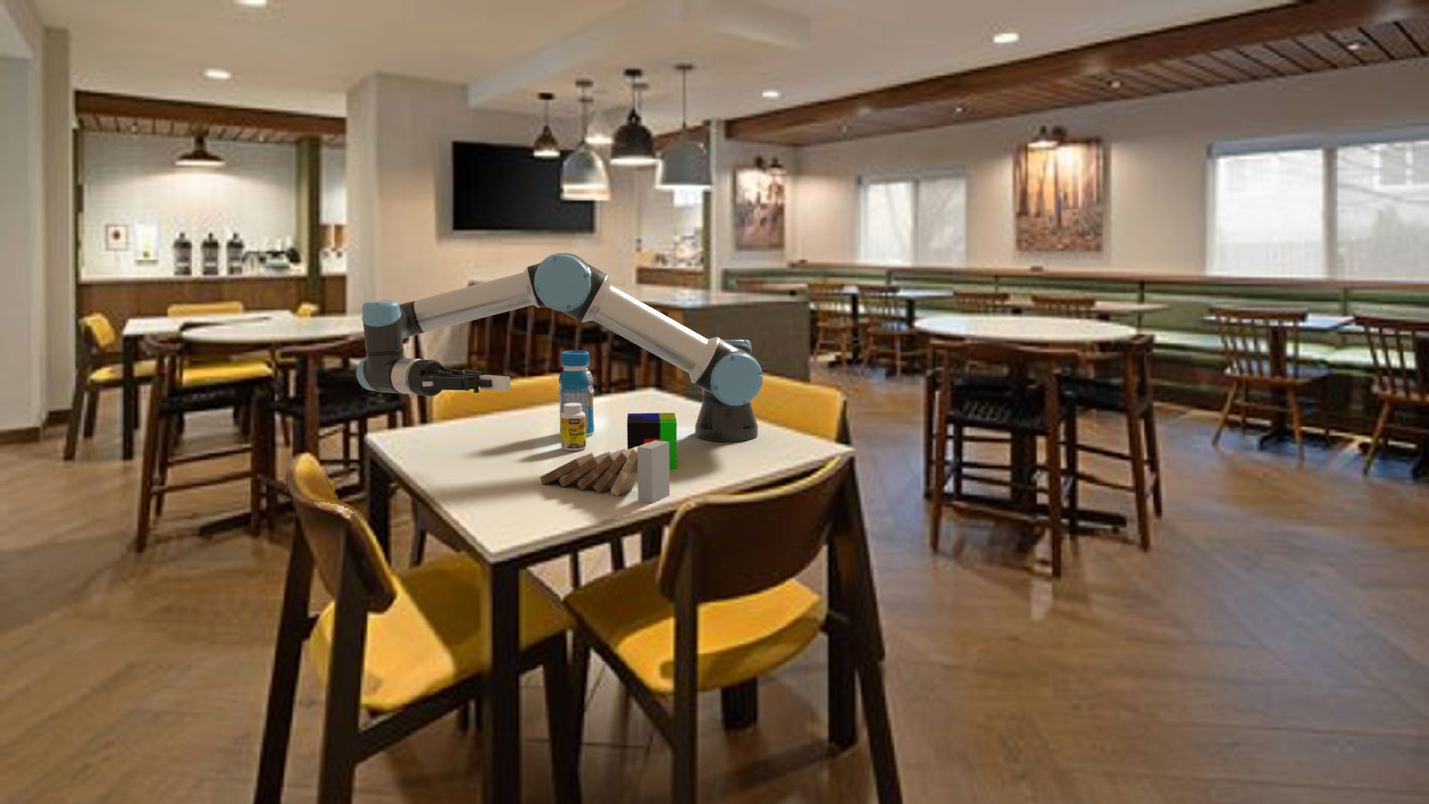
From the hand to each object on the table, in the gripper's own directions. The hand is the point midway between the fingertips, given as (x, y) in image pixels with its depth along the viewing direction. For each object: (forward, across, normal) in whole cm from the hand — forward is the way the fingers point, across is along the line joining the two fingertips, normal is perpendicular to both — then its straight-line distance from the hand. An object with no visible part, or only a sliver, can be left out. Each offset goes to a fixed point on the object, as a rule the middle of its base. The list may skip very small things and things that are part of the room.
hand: (507, 383), depth 172 cm
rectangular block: (+33, 0, -19) cm, 38 cm away
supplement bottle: (-3, -24, -19) cm, 31 cm away
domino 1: (+9, 0, -18) cm, 20 cm away
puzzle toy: (+20, -21, -20) cm, 35 cm away
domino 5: (+26, 0, -19) cm, 32 cm away
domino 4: (+22, 0, -18) cm, 28 cm away
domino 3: (+18, 0, -18) cm, 26 cm away
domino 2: (+14, 0, -18) cm, 23 cm away
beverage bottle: (-11, -36, -19) cm, 43 cm away
